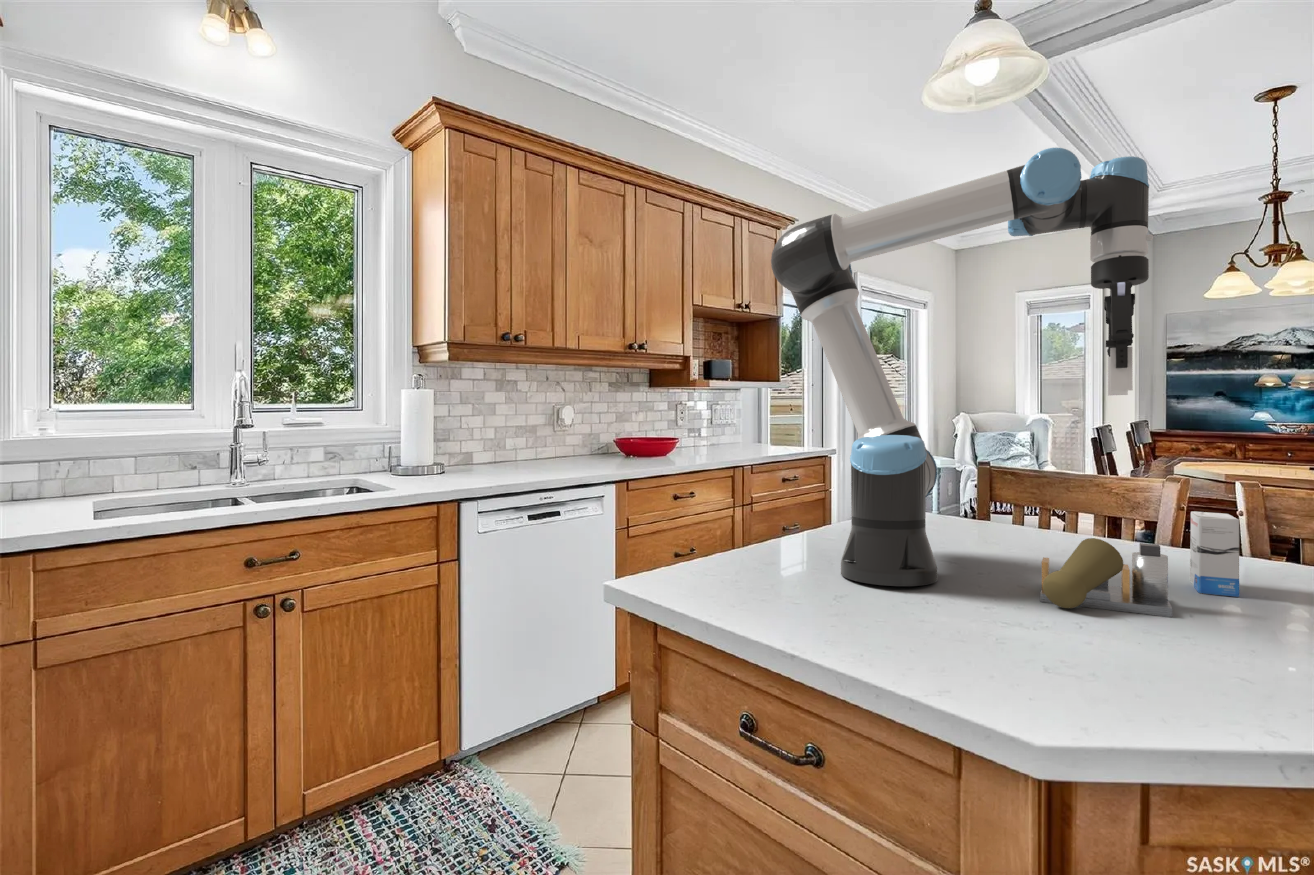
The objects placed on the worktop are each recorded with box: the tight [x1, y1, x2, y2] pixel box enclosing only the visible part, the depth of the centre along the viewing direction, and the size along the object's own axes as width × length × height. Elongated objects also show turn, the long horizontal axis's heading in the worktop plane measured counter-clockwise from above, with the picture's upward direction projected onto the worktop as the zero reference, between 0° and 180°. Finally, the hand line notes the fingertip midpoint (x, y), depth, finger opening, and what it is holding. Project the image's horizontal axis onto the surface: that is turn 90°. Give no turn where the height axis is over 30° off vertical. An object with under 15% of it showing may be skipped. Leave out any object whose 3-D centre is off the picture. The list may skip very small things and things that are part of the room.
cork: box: [1043, 537, 1125, 609], centre depth 92 cm, size 6×6×11 cm
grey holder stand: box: [1039, 542, 1173, 618], centre depth 95 cm, size 15×11×9 cm
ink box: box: [1189, 510, 1240, 598], centre depth 101 cm, size 8×5×12 cm, turn 148°
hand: (1119, 393), depth 104 cm, fingers open, 13 cm apart
